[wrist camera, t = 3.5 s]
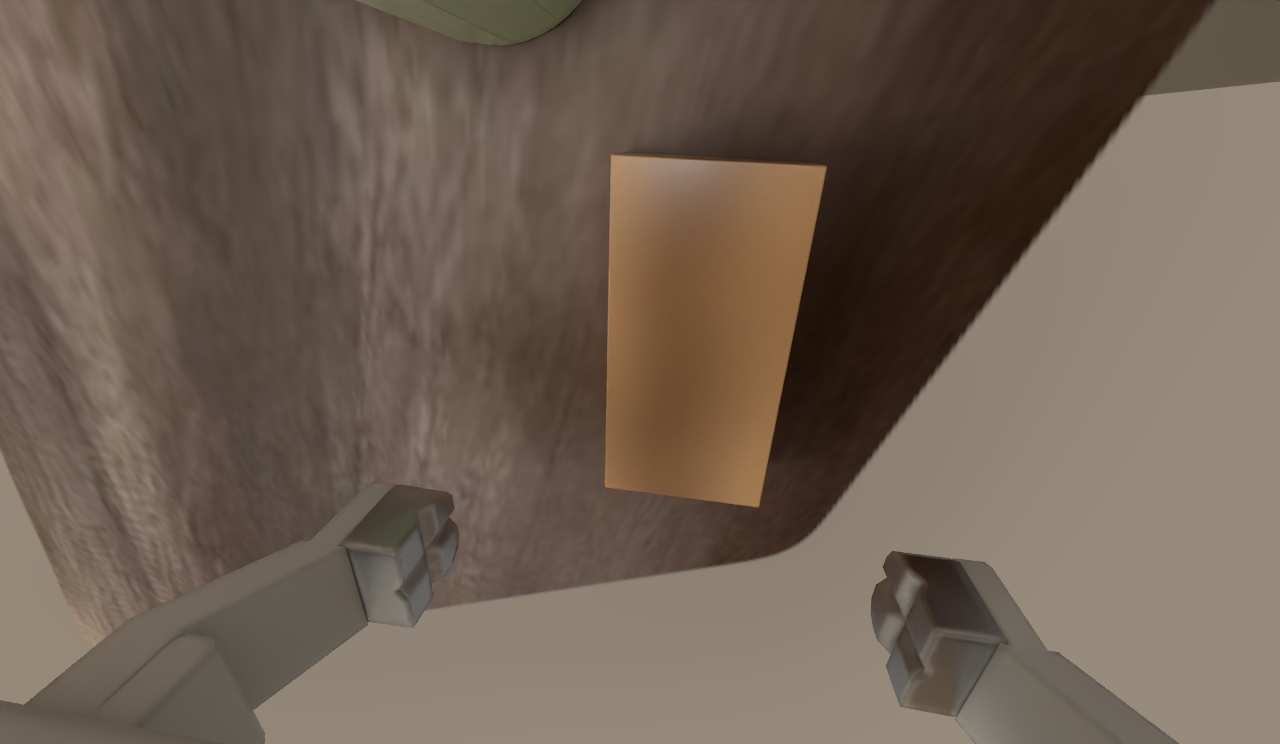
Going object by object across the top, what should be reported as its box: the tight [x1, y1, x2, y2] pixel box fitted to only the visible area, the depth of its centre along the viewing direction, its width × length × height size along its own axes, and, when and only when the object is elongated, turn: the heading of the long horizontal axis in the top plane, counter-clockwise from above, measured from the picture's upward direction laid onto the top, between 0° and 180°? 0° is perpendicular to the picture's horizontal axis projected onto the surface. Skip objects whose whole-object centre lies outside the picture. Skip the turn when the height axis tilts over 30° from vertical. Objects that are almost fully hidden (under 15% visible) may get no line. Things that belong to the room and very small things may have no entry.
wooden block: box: [605, 152, 827, 507], centre depth 19 cm, size 6×13×3 cm, turn 177°
